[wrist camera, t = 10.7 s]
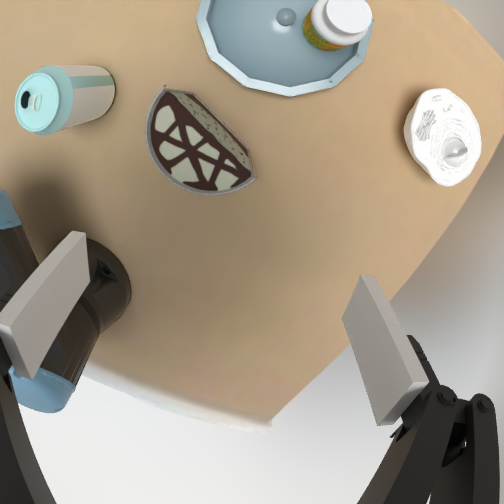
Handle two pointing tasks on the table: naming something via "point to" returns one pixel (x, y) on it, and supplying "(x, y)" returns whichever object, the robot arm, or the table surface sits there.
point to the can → (63, 97)
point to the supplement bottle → (336, 23)
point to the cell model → (443, 136)
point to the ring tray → (273, 46)
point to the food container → (195, 145)
